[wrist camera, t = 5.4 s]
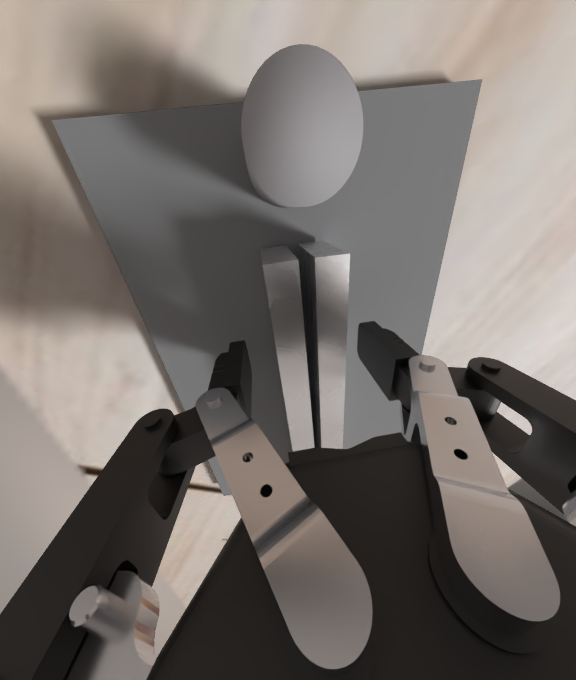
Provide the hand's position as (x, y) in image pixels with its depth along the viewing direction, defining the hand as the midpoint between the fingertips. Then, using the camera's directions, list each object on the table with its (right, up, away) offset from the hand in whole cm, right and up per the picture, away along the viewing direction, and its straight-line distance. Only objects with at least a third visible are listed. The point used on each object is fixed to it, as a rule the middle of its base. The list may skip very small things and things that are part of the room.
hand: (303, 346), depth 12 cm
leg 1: (-1, -3, +3) cm, 5 cm away
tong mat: (0, -1, +3) cm, 3 cm away
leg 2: (+1, -3, +3) cm, 5 cm away
